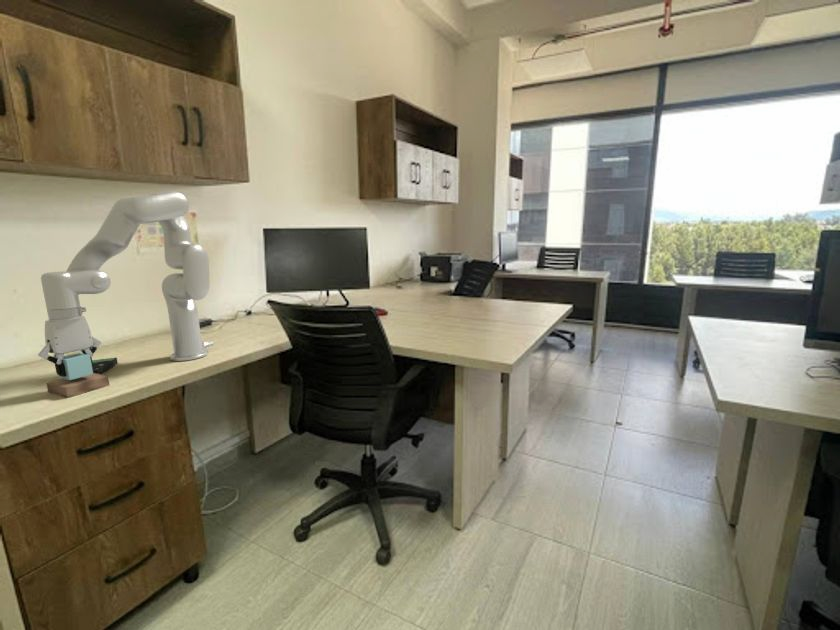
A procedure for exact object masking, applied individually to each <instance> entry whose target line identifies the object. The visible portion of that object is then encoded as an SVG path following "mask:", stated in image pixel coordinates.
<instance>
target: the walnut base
mask: <svg viewBox="0 0 840 630" xmlns="http://www.w3.org/2000/svg"><path fill="white" fill-rule="evenodd" d="M108 386H110V378H109V375H105V374H102V375H101V374H97V373H93V374H91V375H87V376H84V377H80V378H76V379H72V380H68V379H64V378H60V379H56V380H55V379H54V380H52V381H48V382H46V388H47V392H48V393H49V394H51V395H52V394H53V395H56V396H60V397H63V398H65V399H69V398H72V397H76V396H79V395H82V394H86V393H88V392H92V391H96V390H98V389H102V388H105V387H108Z"/></svg>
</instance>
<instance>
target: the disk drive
mask: <svg viewBox="0 0 840 630" xmlns="http://www.w3.org/2000/svg"><path fill="white" fill-rule="evenodd" d="M92 362H93V366H92V370H93V373H97V374H101V375H105V373H106V372H108V371H110V369H112V368H113V367H115V366H117V365H118V364H119V363H118V362H119V361H118V357H110V358H109V357H108V358H100V359H92Z"/></svg>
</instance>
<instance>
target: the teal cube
mask: <svg viewBox="0 0 840 630" xmlns="http://www.w3.org/2000/svg"><path fill="white" fill-rule="evenodd" d="M62 363H64V365H65V370H66V376H65V377H62V376H59V375H58V378H60V379H63V378H64V379H68V380H72V379H76V378H80V377H84V376H87V375H91V374H93V370H92V364H91V359H90V355H87V354H83V353H82V352H77V353H72V354H69V355H64V356H63V360H62Z"/></svg>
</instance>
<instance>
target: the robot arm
mask: <svg viewBox="0 0 840 630" xmlns="http://www.w3.org/2000/svg"><path fill="white" fill-rule="evenodd" d="M189 208H190V204H189V200H188V198H187V197H186V196H185V194H183V193H181V192H179V191H175V190H173V191H161V192H159V191H158V192H153V193H150V194H147V195H141V196H131V197H129V196H128V197H122V198H120V199H118V200H117V201H115V203H114V204H113V206H112V207H111V209H110V211H109V212H108V214H107V216H106V218H105V220H104V221H103V222H102V224H101V226H100V228H99V229H98V231H97V232H96V234H95V235H94V236H93V237H92V238H91V239H90V240H89V241H88V242H87V243H86V244H85V245H84V246H83V247H82V248H81V249H80V250H79V251H78V252H77V253H76V255H75V256H74V257H73V259H72V261H71V262H70V264H69V265H68V268H67V269H66V271H51V272H45V273H43V274H41V276H40V280H41V281H40V283H41V285H42V286H41V287H42V293H43V297H44V302H45V307H46V311H47V312H46V313H47V317H48V319H47V320H44V341H45V342H44V343H45V345H44V347H43V348H42V349H41V350H40V351H39V353H38V357H41V358H42V359H45V360H47V361H48V362H51V363H52V364H54V366H55V367H54V368H55V373H56V375H58V377H59V376H62V377H65V376H66V370H65V365H64V363H62V360H63V356H65V354H70V353H74V352H79V351H80V352H81V353H82V354H87V355H90V359H91V364H92V366H93V362H92V360H93V356H94V353H96V351H97V350H98V348H99V347H100V345H101V344H102V342H101V341H100V340H99V339H97V338H95V337H94V336H92V333H91V329H90V326H89V324H88V321H87V318H86V317H85V316H84V315H83V313H85V312H87V309H86V307H84V306H83V307H82V306H81V304H80V298H79V295H98V294H102V293H104V292H106V291H107V290H109V288H110V287H111V285H112V284H111V278H110V277H109V275H108V274H107V273H106V272H104V271H102V270H100V268H101V267H102V266H103V265H104V264H105V263H106V262H107V261H109V259H111V258H114V257H116V256H117V255H119V254H121V253H123V252H124V251H125V250H127V248H128V247H129V245H130V243H131V242H132V240H133V238H134V235H135V234H136V232H137V231H138V229H139V227H140V225H141V224H142V225H143V224H153V223H157V222H158V223H159V224H160V226H161V228H162V232H163V245H164V247H163V248H164V260H165V261H164V262H165V264H166V266H168V267H169V268H170V269H174V270H181V271H183V273H180V272H178V273H177V272H175V273H171V274H168V275H167V276H166V277H164V279H163V280H162V283H161V291H162V294H163V297H164V300H165V303H166V308H167V313H168V318H169V319H168V320H169V327H170V334H171V341H172V346H173V347H172V348H173V353H171V354H170V355H169V359H170V360H171V361H174V362H184V361H193V360H197V359H200V358H204V357H205V356H208V350H207V348H209V347H213V346H214V341H212V340H211V341H207V342H206V341H202V336H201V329H200V328H201V327H200V320H199V319H200V318H199V310H198V307H197V304H196V302H195V301H200V300H202V299H204V298H206V296H207V295H208V293H209V290H210V259H209V255H208V252H207V250H206V249H205V248H204V247H203V246H201V245H200V244H199V243H194V242H192V236H191V228H190V225H189V223H188V221H187V219H186V218H185V217H184V215H187V213H188V211H189ZM48 353H49V354H48ZM50 354H53V355H52V356H51V355H50Z"/></svg>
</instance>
